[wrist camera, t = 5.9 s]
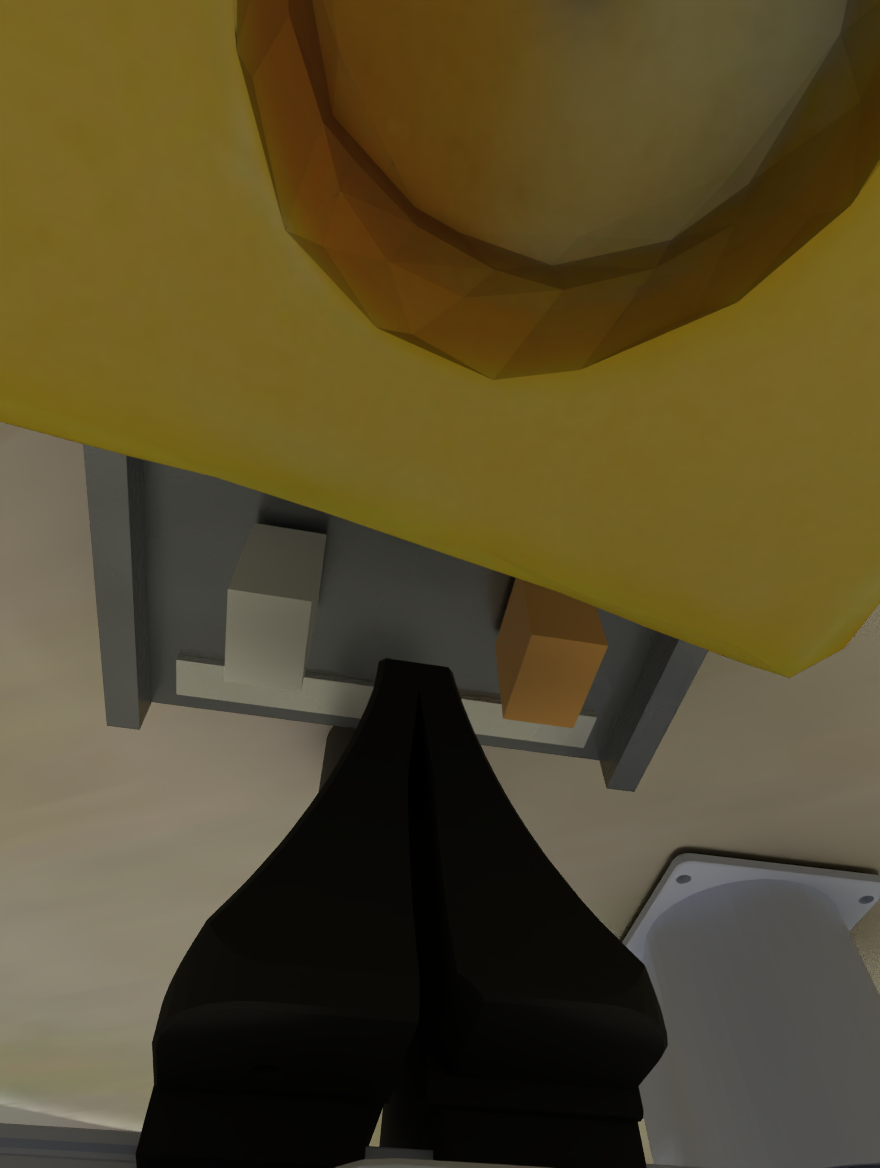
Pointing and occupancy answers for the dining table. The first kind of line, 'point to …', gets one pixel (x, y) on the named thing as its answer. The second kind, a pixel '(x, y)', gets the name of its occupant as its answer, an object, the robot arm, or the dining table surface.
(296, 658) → the upright cream block
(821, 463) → the candle
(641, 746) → the grey tray
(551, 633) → the tan rectangular prism
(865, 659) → the dining table surface
